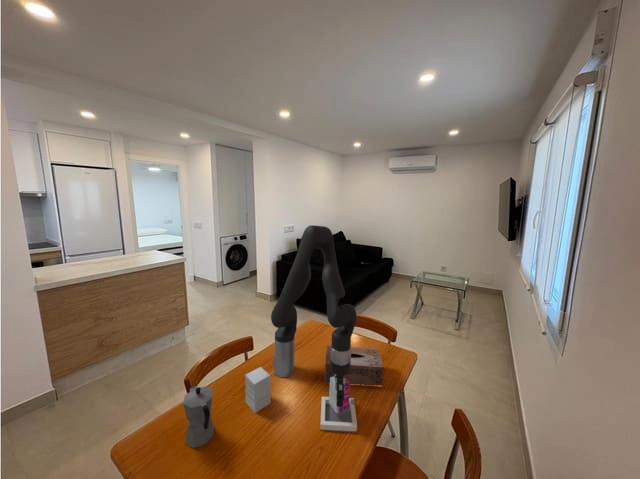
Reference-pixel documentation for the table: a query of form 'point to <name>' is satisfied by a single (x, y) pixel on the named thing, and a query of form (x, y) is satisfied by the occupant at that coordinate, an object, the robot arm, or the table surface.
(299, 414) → the table surface
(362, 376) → the tissue box cover
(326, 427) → the socket plate
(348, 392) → the supplement box
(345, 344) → the robot arm
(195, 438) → the coffeepot
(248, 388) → the supplement box
